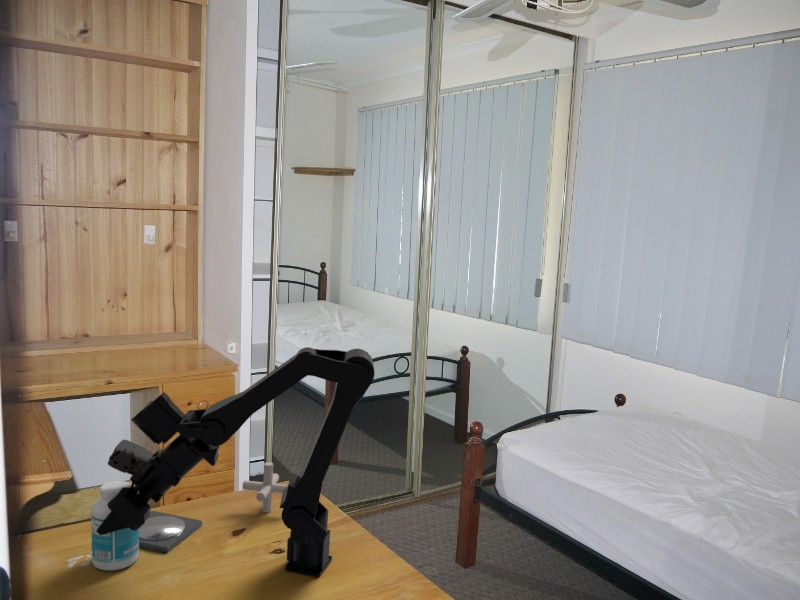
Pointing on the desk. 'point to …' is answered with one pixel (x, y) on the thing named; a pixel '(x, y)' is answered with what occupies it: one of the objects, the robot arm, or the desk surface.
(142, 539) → the flange plate
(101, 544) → the pill bottle
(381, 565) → the desk surface
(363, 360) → the robot arm
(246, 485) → the pipe connector
